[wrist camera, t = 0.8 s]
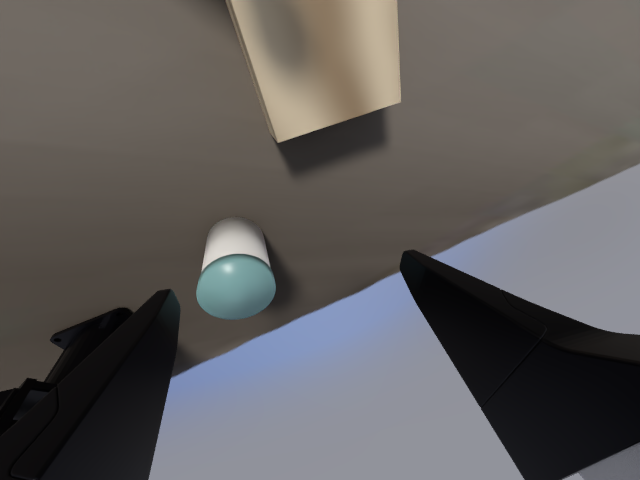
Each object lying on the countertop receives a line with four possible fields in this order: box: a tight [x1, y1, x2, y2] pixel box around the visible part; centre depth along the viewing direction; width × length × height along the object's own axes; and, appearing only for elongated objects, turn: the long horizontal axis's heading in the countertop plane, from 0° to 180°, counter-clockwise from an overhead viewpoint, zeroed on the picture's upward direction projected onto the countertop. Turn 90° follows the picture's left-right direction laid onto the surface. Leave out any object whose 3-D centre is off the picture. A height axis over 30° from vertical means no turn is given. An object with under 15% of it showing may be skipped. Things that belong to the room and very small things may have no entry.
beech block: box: [225, 0, 401, 143], centre depth 15 cm, size 9×9×4 cm
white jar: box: [196, 217, 276, 320], centre depth 20 cm, size 5×5×7 cm
